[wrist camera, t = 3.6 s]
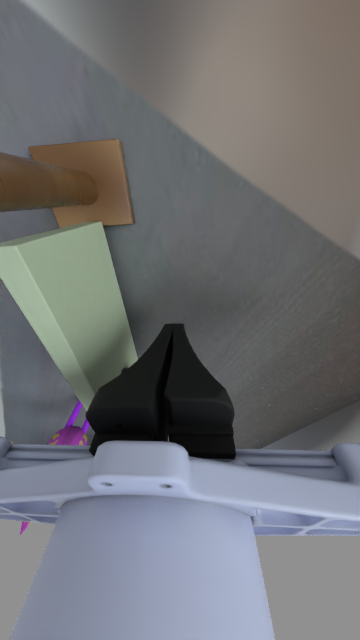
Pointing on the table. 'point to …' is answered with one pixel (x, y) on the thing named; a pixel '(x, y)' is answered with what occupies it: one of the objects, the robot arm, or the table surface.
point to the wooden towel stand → (69, 182)
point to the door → (72, 302)
